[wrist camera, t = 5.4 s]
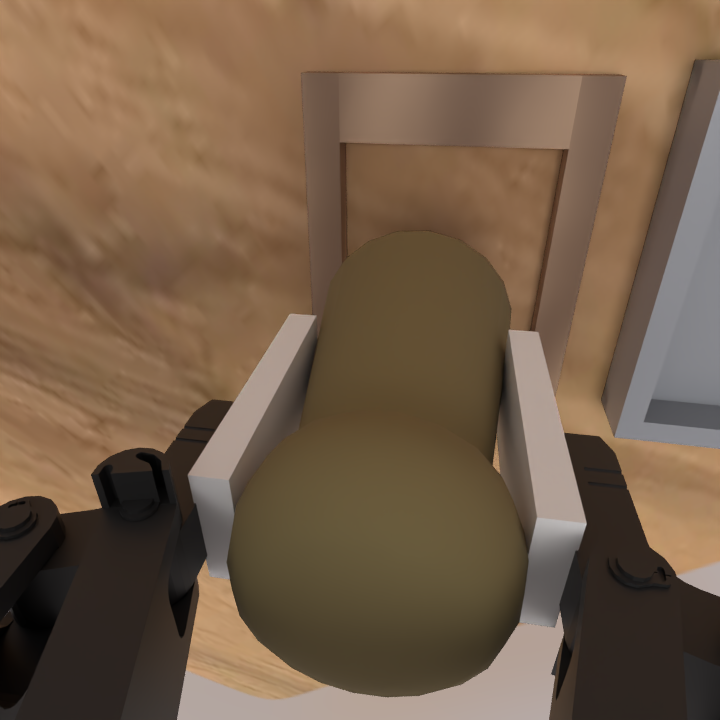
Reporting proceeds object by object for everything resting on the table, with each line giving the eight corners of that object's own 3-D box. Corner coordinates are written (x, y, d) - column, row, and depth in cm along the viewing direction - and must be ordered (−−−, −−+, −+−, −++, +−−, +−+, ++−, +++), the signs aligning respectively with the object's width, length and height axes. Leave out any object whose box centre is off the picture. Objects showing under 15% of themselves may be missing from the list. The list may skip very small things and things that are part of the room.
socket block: (321, 364, 29) (315, 376, 28) (309, 71, 22) (300, 72, 21) (551, 387, 27) (554, 400, 26) (619, 74, 20) (626, 76, 19)
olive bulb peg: (541, 359, 17) (632, 729, 8) (380, 420, 20) (306, 763, 10) (459, 192, 15) (453, 437, 6) (289, 283, 18) (90, 562, 8)
